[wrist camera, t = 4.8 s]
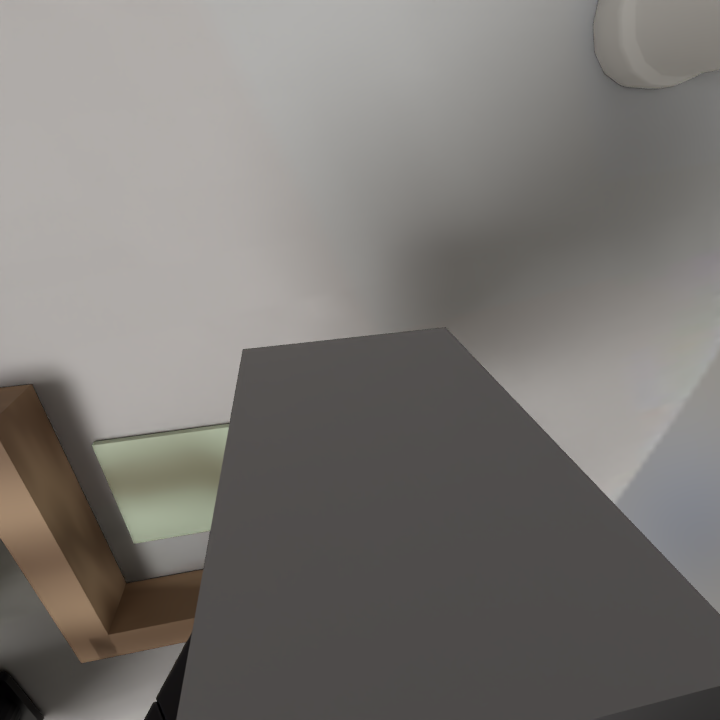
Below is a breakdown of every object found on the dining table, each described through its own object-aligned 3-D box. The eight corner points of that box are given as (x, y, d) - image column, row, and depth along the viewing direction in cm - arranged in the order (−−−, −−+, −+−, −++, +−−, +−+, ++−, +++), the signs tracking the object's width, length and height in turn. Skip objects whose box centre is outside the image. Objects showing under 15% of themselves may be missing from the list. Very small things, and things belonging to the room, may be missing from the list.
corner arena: (370, 559, 28) (379, 602, 25) (101, 610, 25) (81, 663, 23) (361, 346, 20) (373, 375, 18) (-19, 389, 18) (-69, 430, 15)
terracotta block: (430, 559, 13) (568, 928, 7) (288, 587, 12) (297, 1019, 6) (445, 327, 9) (774, 671, 3) (243, 349, 9) (156, 832, 2)
